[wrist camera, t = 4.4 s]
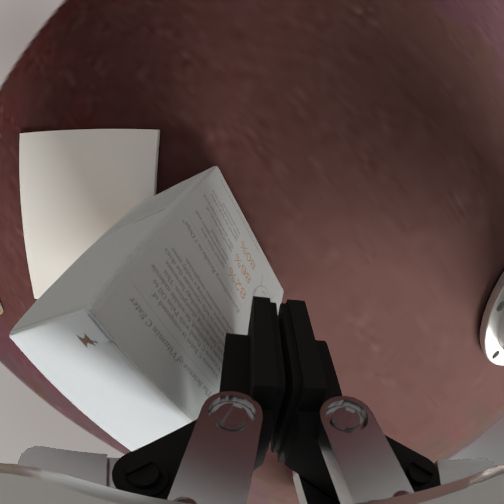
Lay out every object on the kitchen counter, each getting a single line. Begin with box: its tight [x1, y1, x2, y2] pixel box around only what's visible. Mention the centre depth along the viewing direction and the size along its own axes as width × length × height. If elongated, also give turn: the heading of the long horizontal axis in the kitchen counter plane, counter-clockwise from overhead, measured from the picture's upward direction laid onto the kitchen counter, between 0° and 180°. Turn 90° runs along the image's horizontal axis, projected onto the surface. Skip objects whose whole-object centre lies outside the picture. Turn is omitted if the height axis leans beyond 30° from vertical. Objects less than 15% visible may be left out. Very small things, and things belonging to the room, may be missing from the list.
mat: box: [19, 129, 160, 299], centre depth 18 cm, size 10×12×1 cm
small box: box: [10, 166, 283, 451], centre depth 13 cm, size 8×6×10 cm
